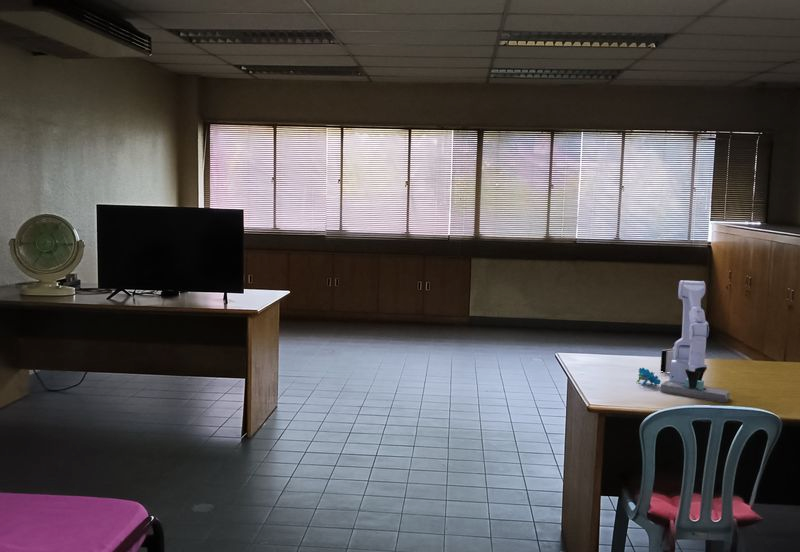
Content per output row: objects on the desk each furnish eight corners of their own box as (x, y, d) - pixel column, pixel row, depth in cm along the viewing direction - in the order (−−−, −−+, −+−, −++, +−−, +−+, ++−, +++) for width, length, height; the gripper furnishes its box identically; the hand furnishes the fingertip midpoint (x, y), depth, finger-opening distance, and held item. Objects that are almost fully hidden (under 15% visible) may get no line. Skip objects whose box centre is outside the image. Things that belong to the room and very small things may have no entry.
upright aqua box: (684, 394, 274) (685, 379, 273) (686, 392, 276) (687, 378, 275) (701, 397, 270) (702, 382, 269) (703, 395, 272) (704, 381, 271)
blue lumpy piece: (666, 383, 283) (651, 367, 281) (657, 394, 282) (642, 378, 280) (648, 380, 294) (634, 365, 292) (640, 391, 292) (626, 375, 291)
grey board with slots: (660, 391, 277) (661, 384, 276) (666, 387, 283) (666, 380, 283) (724, 402, 262) (725, 395, 262) (729, 398, 269) (729, 391, 269)
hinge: (671, 367, 322) (673, 346, 321) (682, 370, 318) (684, 348, 317) (658, 372, 312) (660, 350, 311) (670, 374, 308) (672, 352, 307)
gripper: (703, 356, 263) (701, 391, 264) (712, 351, 275) (709, 384, 276) (684, 354, 267) (682, 388, 268) (693, 348, 279) (691, 381, 280)
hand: (695, 386), depth 272 cm, fingers open, 7 cm apart
